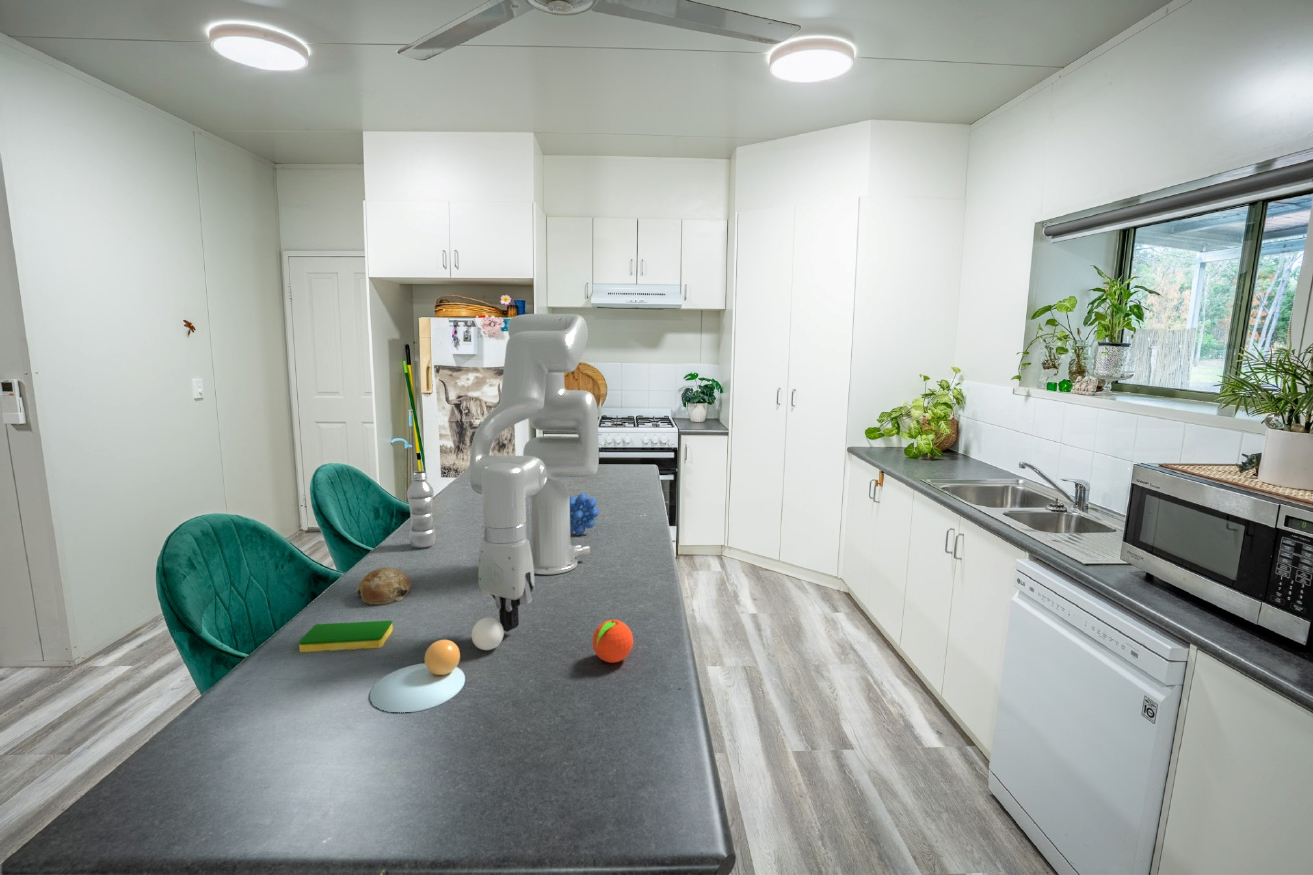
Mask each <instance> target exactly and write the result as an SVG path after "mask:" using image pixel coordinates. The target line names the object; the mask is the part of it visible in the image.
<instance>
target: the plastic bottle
mask: <svg viewBox="0 0 1313 875" xmlns="http://www.w3.org/2000/svg"><path fill="white" fill-rule="evenodd" d="M410 480H411V481H412V482H411V484H410V485H409V487H408V489H407V491H406V496H407V497H406V498H407V501H408V506H409V513H410V514H409V515H410V526H409V528H410V530H409V534H408V540H409V543H410V545H411V546H412V548H413V547H414V548H419V549H420V548H427V547H428V548H429V547H431V546H433V545H434V544H435V542H437V541H436V539H437V534H436V529H435V526H434V525H435V524H434V519H433V503H434V494H435V493H434V488H433V487H432V485H431V484H430V482H428V481H427V480H428V474H427V471H424V470H420V471H419V470H417V471H412V472H411V473H410Z"/></svg>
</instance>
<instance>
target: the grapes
mask: <svg viewBox="0 0 1313 875" xmlns="http://www.w3.org/2000/svg"><path fill="white" fill-rule="evenodd" d="M569 497H570V535H572V534H576V535H577V536H582V535H583V534H584V533H585V531H586V529H592V528H593V527H594V526H595V524H596V519H595V518H597V517H598V516H599V514H600V509H599V508H598V506H596V505H597V499H596V498H595V497H588V495H587V493H584V492H583V493H579V494H578V495H577V497H575V496H569ZM595 506H596V507H595Z"/></svg>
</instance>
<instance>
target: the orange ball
mask: <svg viewBox="0 0 1313 875" xmlns="http://www.w3.org/2000/svg"><path fill="white" fill-rule="evenodd" d="M460 659H461V653H460V648H459V646H458V645H457V644H456V643H455V642H454V641H452V640H449V639H440V640H437V641H435V642H433V643H432V644H431V645H429V647H428V648H427V649H426V651H425V653H424V663H425V665H426V667H427V669H428V670H429V671H430V672H431V673H433V674H435V675H445V674H448V673H450V672H452V671H453V670H454V669H455V668H456V667H458V665H459V663H460Z"/></svg>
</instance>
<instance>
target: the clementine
mask: <svg viewBox="0 0 1313 875" xmlns="http://www.w3.org/2000/svg"><path fill="white" fill-rule="evenodd" d="M633 637H634V636H633V633H632V630H631V629H630V627H629V626H628V625H627V624H625V622H622V621H620V620H618V619H609V620H606V621H604V622H602V623H601V624H599V625H598V626H597V628H596V629H595V631H594V633H593V635H592V647H593V648H592V649H593V651H594V652H595V654H596V656H597V657H598V658H599V659H600V660H602V661H604V662H606V663H608V664H609V663H610V664H612V663H613V664H614V663H619V662H621V661H623V660H626V659H625V658H627V657H628V656H629V654H630V653H631V650H632V648H633V645H634V638H633Z"/></svg>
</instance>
